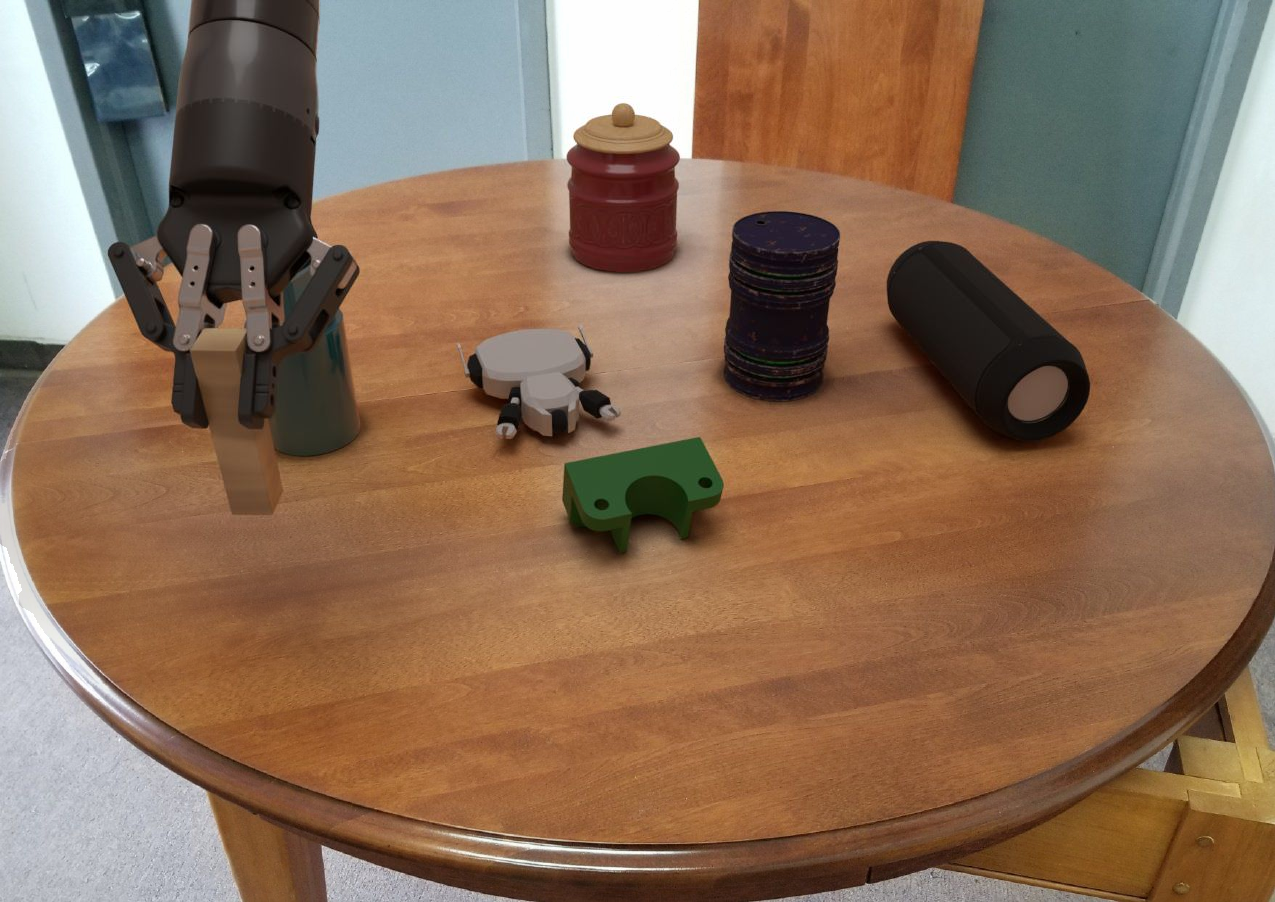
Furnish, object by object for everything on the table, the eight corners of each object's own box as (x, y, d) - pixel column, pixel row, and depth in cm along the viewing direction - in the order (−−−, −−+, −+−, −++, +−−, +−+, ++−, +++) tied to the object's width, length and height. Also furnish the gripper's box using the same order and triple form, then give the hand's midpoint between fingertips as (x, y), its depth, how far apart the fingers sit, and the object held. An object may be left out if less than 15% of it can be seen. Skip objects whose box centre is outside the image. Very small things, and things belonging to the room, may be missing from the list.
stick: (243, 490, 64) (203, 327, 58) (283, 490, 64) (248, 328, 58) (231, 515, 62) (188, 349, 56) (273, 515, 62) (235, 350, 56)
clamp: (605, 589, 85) (566, 533, 77) (582, 532, 88) (543, 473, 81) (742, 523, 84) (716, 460, 77) (713, 468, 88) (686, 404, 81)
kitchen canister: (612, 223, 137) (611, 81, 127) (697, 247, 130) (704, 100, 120) (546, 256, 128) (540, 106, 118) (635, 284, 122) (636, 128, 112)
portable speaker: (1084, 445, 95) (1113, 345, 89) (979, 456, 93) (1002, 355, 87) (958, 317, 115) (976, 229, 110) (871, 324, 114) (884, 235, 108)
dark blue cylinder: (844, 375, 105) (863, 230, 96) (784, 413, 99) (799, 263, 90) (762, 341, 110) (774, 202, 102) (701, 376, 104) (708, 231, 96)
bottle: (249, 445, 93) (210, 276, 84) (302, 401, 100) (271, 239, 91) (328, 463, 91) (296, 292, 82) (377, 417, 97) (353, 252, 89)
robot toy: (628, 442, 96) (579, 354, 107) (630, 400, 93) (579, 315, 104) (494, 467, 92) (457, 374, 103) (491, 424, 90) (454, 334, 101)
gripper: (91, 91, 57) (55, 408, 53) (354, 94, 57) (335, 411, 54) (151, 156, 64) (123, 439, 61) (384, 159, 64) (369, 441, 61)
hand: (223, 424), depth 57 cm, fingers closed on stick, 2 cm apart
